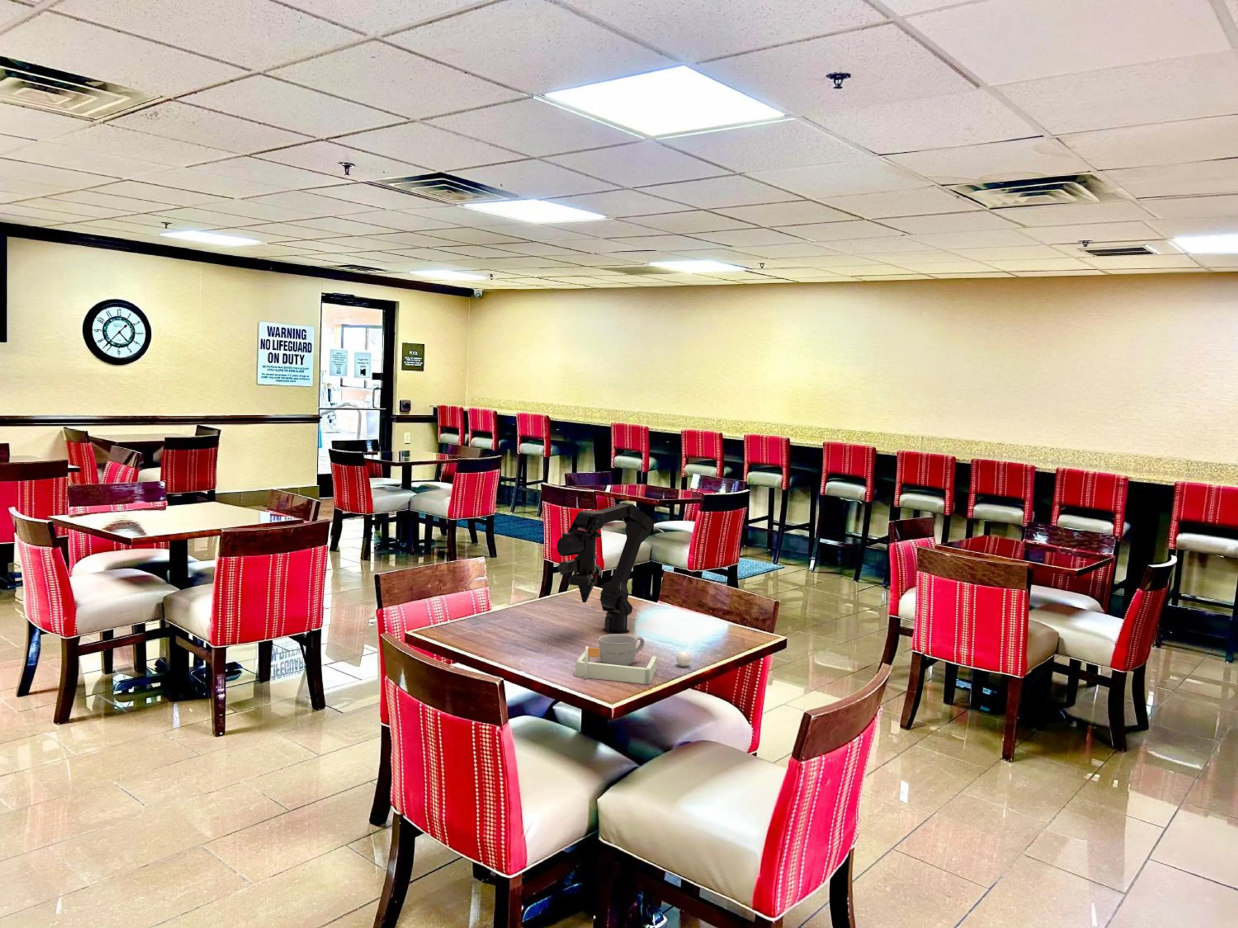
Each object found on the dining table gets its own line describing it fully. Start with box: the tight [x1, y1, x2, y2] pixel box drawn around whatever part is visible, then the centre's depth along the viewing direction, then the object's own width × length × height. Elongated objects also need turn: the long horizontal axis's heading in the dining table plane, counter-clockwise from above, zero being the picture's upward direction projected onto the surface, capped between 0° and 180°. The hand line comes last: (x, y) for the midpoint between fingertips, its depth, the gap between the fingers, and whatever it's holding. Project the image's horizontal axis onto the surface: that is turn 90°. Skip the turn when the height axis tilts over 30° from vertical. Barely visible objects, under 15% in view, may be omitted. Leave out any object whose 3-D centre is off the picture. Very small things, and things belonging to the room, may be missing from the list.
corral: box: [574, 645, 658, 685], centre depth 241 cm, size 14×20×9 cm
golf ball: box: [675, 650, 692, 667], centre depth 251 cm, size 4×4×4 cm
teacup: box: [598, 633, 645, 666], centre depth 250 cm, size 14×11×8 cm
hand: (584, 602), depth 271 cm, fingers closed
